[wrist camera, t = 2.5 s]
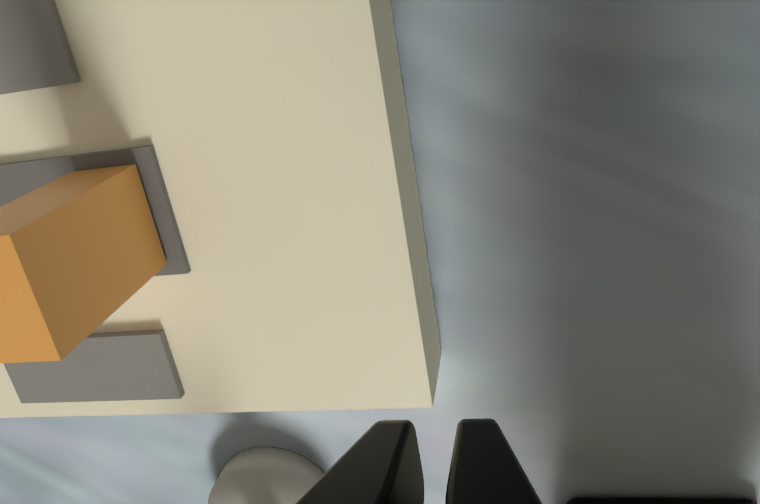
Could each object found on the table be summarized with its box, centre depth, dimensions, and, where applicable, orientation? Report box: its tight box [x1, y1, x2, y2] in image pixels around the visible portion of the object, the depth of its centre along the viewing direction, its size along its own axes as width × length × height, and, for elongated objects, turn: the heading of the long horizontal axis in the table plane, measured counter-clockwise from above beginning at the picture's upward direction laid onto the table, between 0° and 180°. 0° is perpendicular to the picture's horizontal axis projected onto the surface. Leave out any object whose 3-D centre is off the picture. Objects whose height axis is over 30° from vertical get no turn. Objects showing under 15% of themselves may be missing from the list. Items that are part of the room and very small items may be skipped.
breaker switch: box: [0, 164, 167, 363], centre depth 16 cm, size 2×3×5 cm, turn 10°
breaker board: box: [0, 0, 441, 418], centre depth 21 cm, size 22×14×3 cm, turn 100°
